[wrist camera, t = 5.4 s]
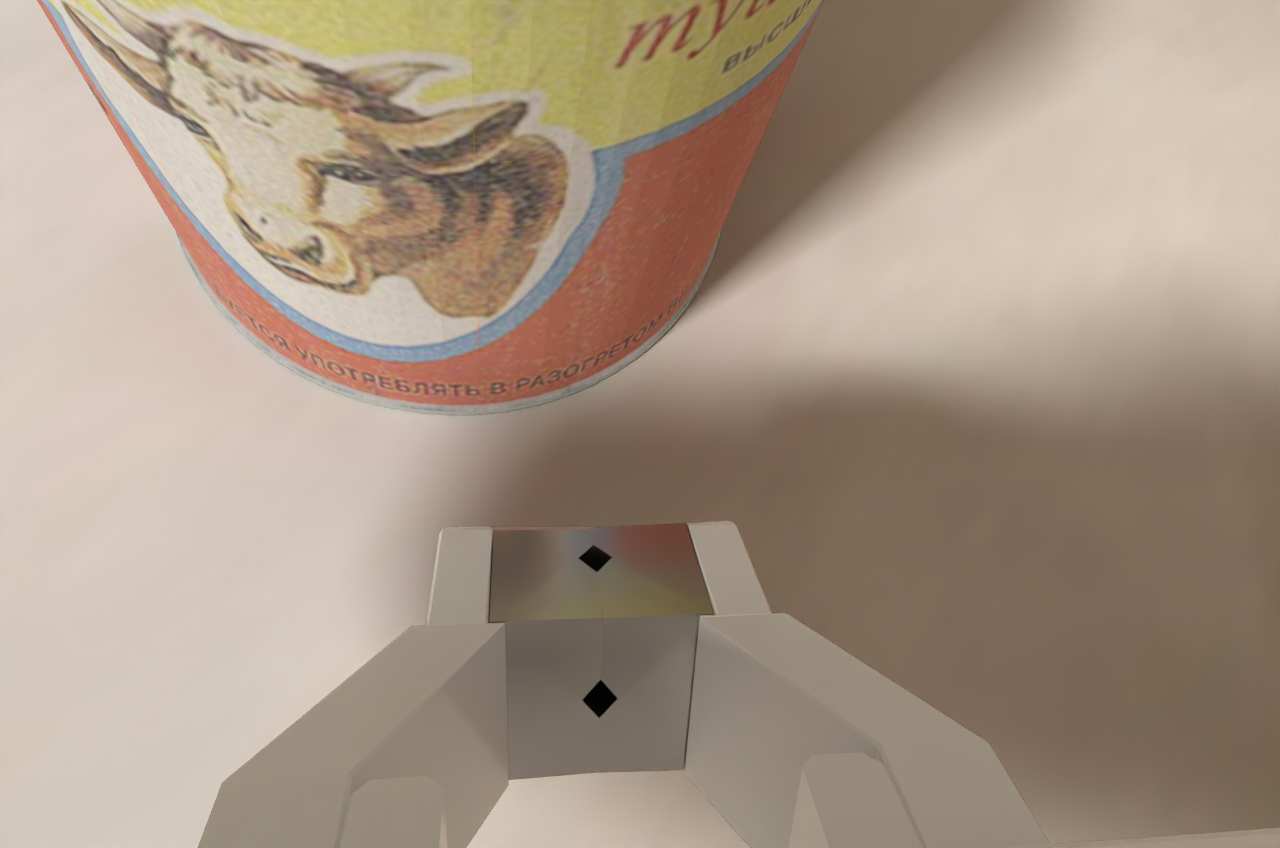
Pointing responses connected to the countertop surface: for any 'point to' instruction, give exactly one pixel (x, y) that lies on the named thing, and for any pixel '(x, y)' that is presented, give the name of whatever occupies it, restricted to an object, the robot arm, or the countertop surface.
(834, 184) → the countertop surface
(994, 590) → the countertop surface
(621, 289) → the canned food
